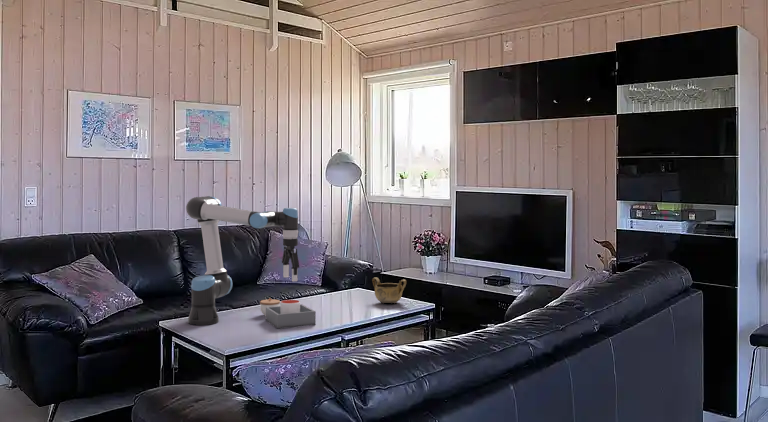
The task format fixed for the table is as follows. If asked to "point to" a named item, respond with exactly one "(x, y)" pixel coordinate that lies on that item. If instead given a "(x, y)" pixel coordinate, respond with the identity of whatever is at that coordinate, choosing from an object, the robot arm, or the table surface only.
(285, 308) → the cup
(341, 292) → the table surface
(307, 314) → the bin
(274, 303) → the lidded jar
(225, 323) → the table surface
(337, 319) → the table surface
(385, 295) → the ceramic bowl
